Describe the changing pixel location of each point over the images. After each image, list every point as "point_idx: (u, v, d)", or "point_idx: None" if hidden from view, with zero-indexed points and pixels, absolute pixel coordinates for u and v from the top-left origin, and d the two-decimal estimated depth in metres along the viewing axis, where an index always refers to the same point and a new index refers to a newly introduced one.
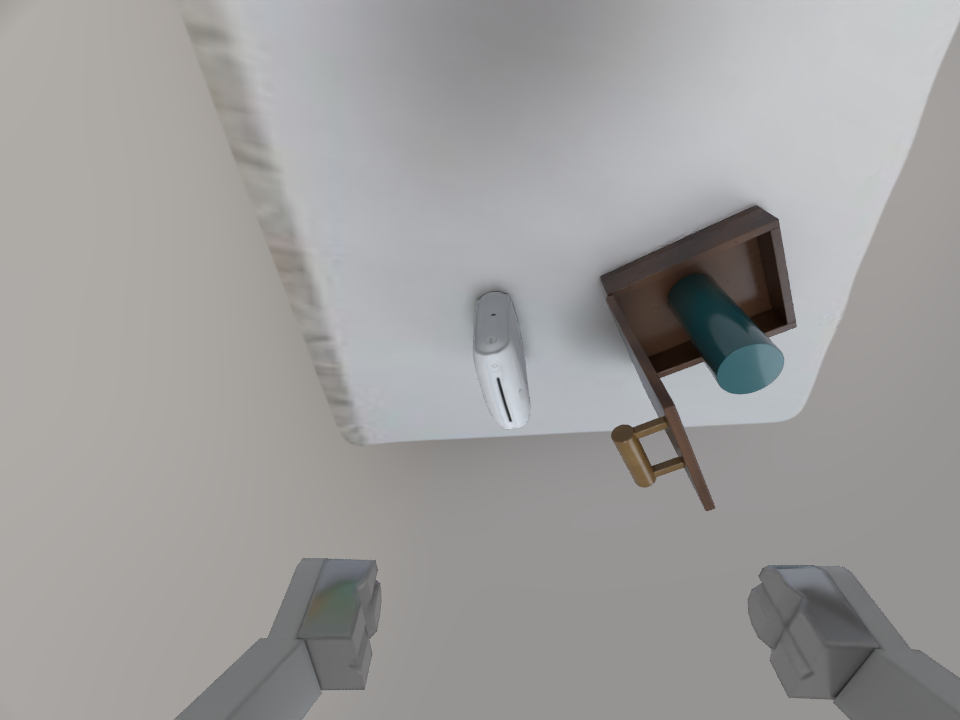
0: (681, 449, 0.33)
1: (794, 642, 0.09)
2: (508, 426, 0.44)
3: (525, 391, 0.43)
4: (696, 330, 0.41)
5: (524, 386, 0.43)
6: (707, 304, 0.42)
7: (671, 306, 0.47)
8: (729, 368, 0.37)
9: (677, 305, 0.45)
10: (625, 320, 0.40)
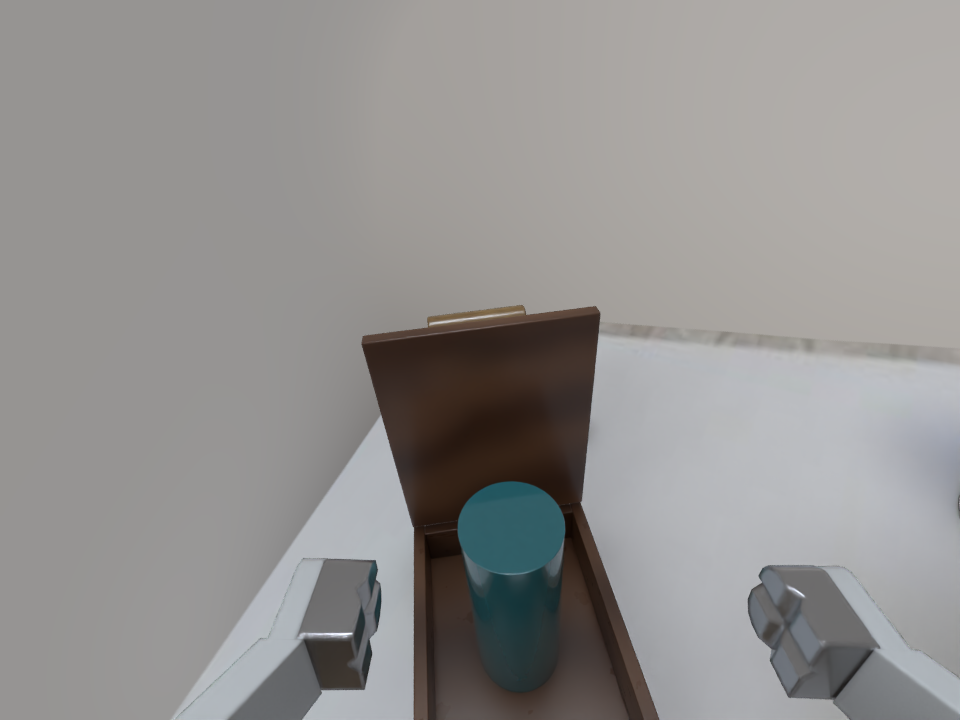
0: (515, 317, 0.24)
1: (794, 642, 0.09)
2: None
3: None
4: None
5: None
6: None
7: None
8: (524, 496, 0.23)
9: None
10: (585, 456, 0.31)
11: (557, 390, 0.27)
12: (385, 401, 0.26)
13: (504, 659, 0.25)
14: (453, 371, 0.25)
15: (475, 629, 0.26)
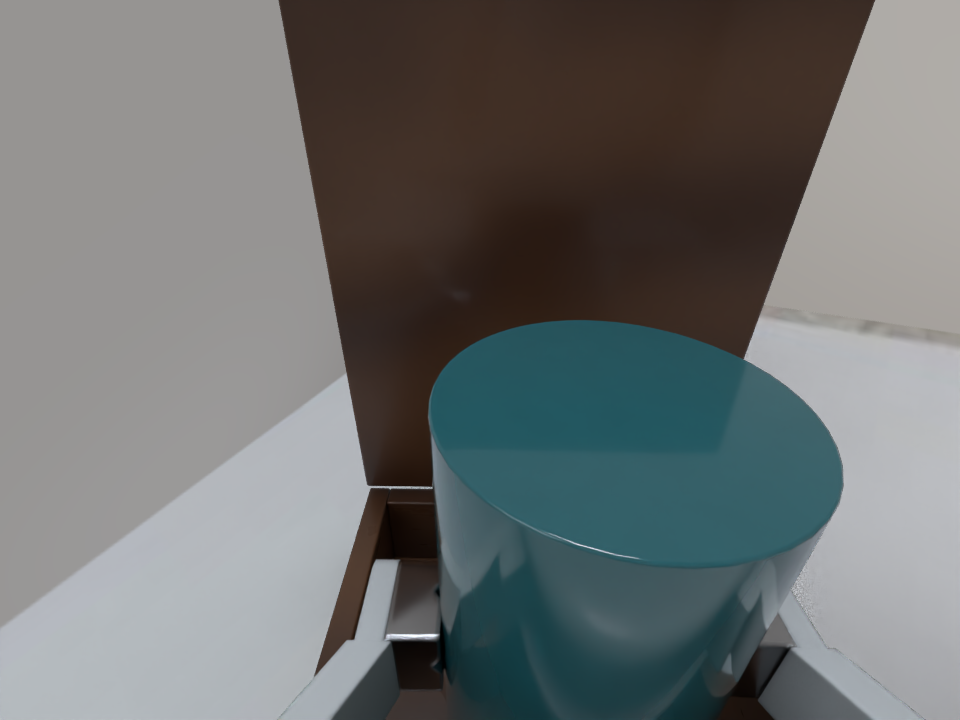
0: None
1: None
2: None
3: None
4: None
5: None
6: None
7: None
8: (652, 348, 0.08)
9: None
10: None
11: (724, 173, 0.11)
12: (319, 127, 0.11)
13: None
14: (488, 51, 0.10)
15: None
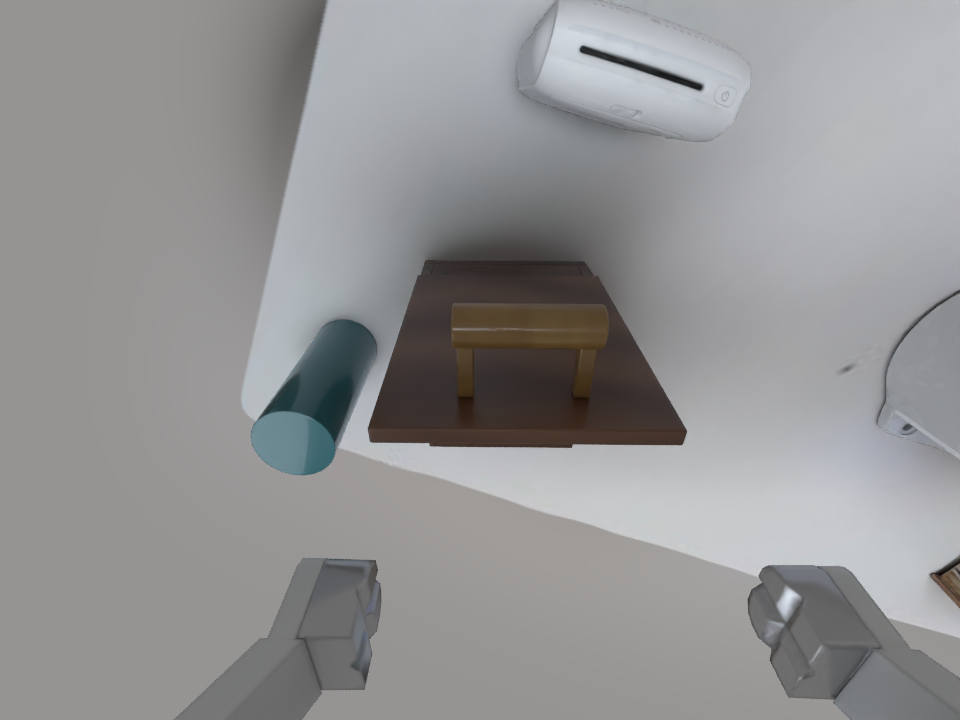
0: (574, 431, 0.18)
1: (794, 642, 0.09)
2: (568, 33, 0.19)
3: (612, 117, 0.21)
4: (337, 373, 0.32)
5: (623, 121, 0.21)
6: (360, 381, 0.35)
7: (347, 328, 0.37)
8: (304, 426, 0.28)
9: (353, 339, 0.36)
10: None
11: None
12: None
13: None
14: None
15: None
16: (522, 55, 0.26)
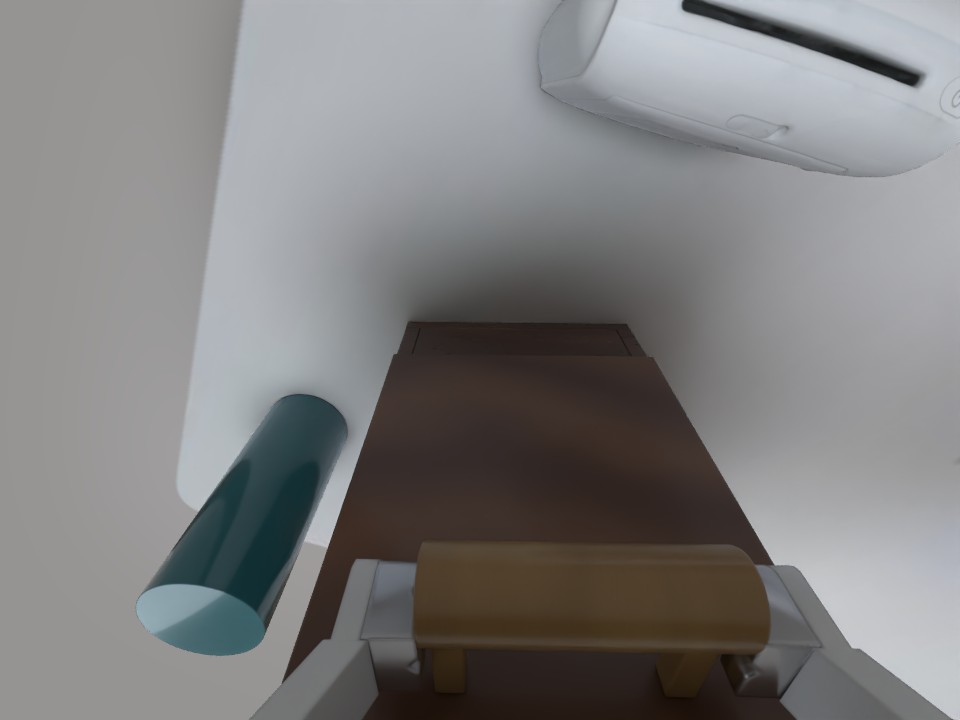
0: None
1: None
2: None
3: (724, 136, 0.12)
4: (279, 494, 0.22)
5: (744, 144, 0.12)
6: (318, 492, 0.25)
7: (305, 409, 0.28)
8: (213, 602, 0.18)
9: (311, 428, 0.27)
10: None
11: None
12: None
13: None
14: None
15: None
16: (550, 32, 0.16)
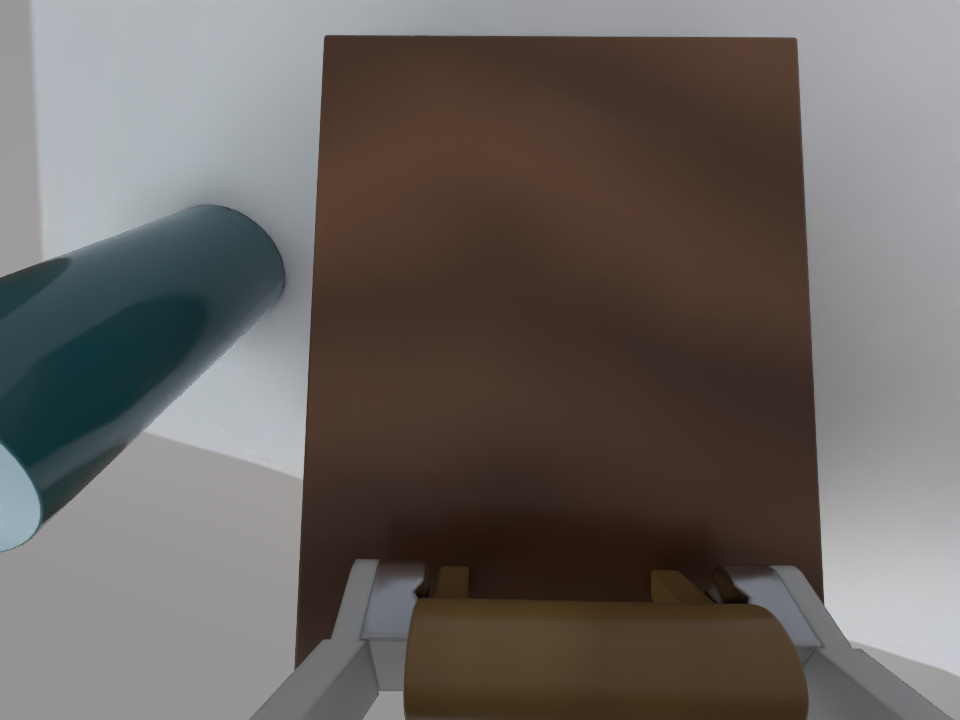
0: None
1: None
2: None
3: None
4: (124, 284, 0.13)
5: None
6: (213, 318, 0.15)
7: (210, 215, 0.18)
8: None
9: (213, 234, 0.17)
10: None
11: None
12: None
13: None
14: None
15: None
16: None
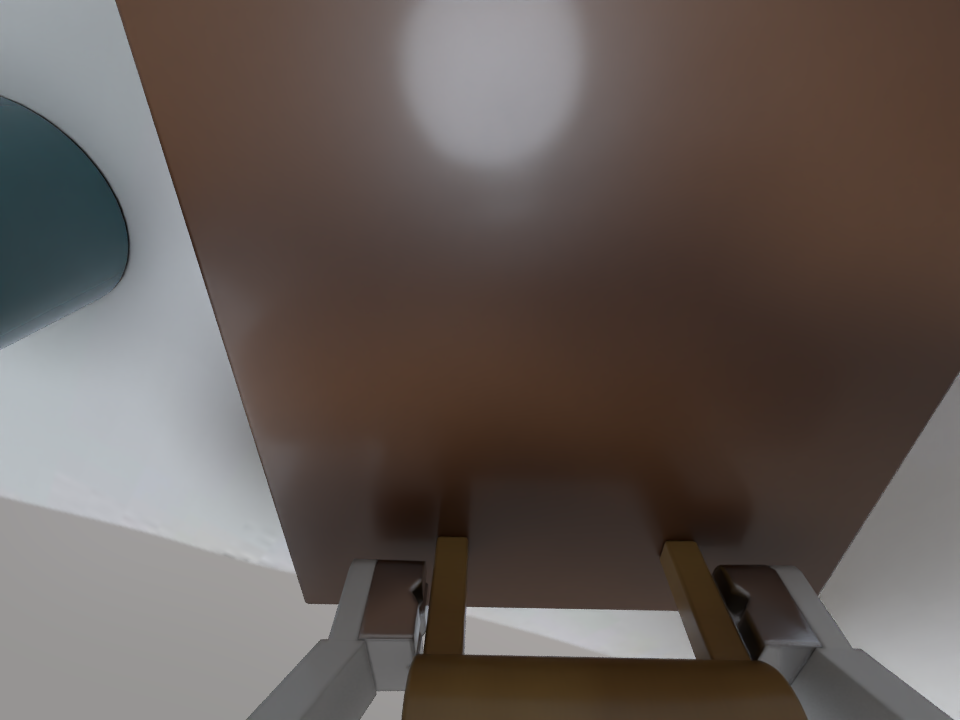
0: (628, 607, 0.11)
1: (742, 641, 0.09)
2: None
3: None
4: None
5: None
6: None
7: None
8: None
9: None
10: None
11: None
12: None
13: None
14: None
15: None
16: None
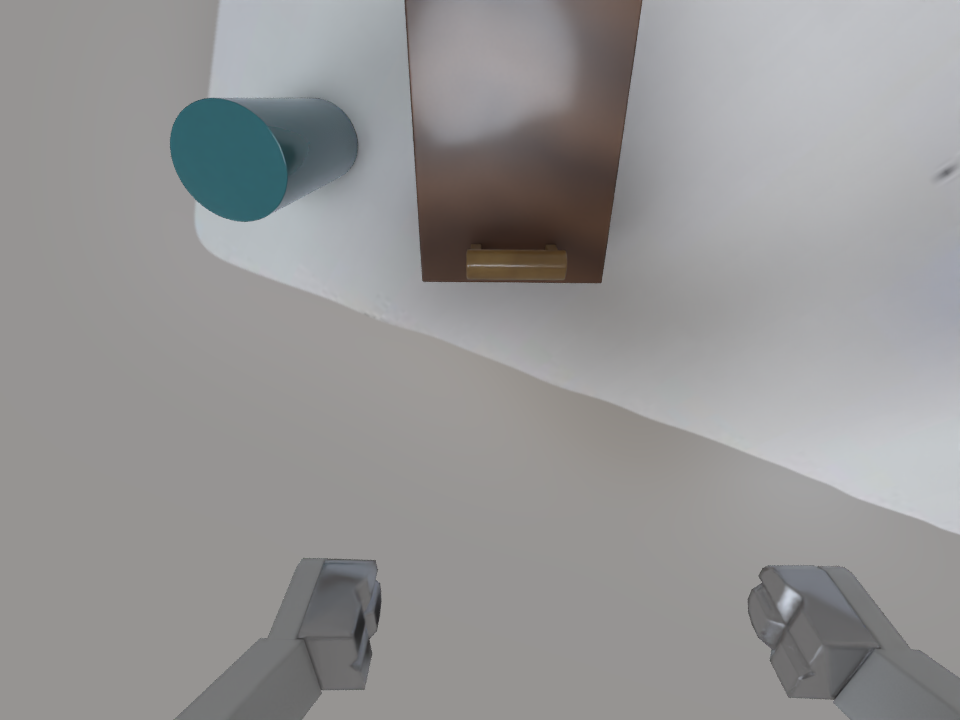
0: (537, 282, 0.32)
1: (794, 642, 0.09)
2: None
3: None
4: (298, 111, 0.24)
5: None
6: (332, 146, 0.27)
7: (319, 100, 0.29)
8: (241, 128, 0.20)
9: (324, 107, 0.28)
10: None
11: None
12: None
13: None
14: None
15: None
16: None
